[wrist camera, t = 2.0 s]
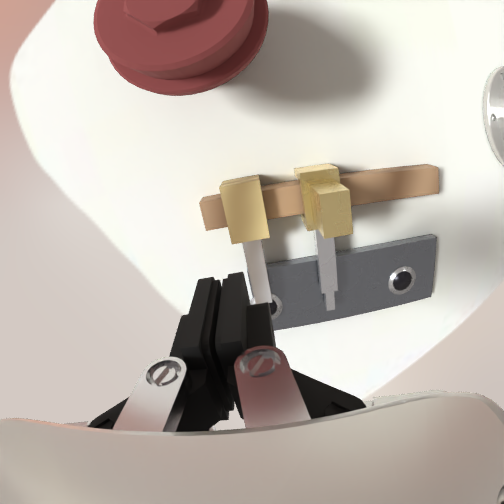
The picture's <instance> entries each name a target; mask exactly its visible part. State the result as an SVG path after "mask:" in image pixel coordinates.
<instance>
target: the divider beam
mask: <svg viewBox="0 0 504 504" xmlns="http://www.w3.org/2000/svg"><path fill="white" fill-rule="evenodd" d="M339 177H340V184H342V185H343V186H345V187H346V188H348V189H349V190H350V201H351V206H354V205H360V204H367V203H374V202H381V201H387V200H394V199H401V198H409V197H416V196H423V195H431V194H439V173H438V167H435V166H432V165H428V164H423V165H412V166H402V167H392V168H383V169H374V170H365V171H357V172H349V173H342V174H339ZM219 189H220V193H221V194H216V195H212V196H207V197H203V198H202V199H201V201H200V203H199V204H200V208H201V212H202V216H203V220H204V225H205V229H206V231H208V230H213V229H219V228H224V227H228V229H229V234H230V238H231V243H232V244H237V243H243V248H244V253H245V257H246V262H247V267H248V271H249V276H250V281H251V285H252V290H253V294H254V299H255V304H260V303H265V302H268V304H269V303H272V295H271V290H270V284H269V279H268V274H267V268H266V263H265V257H264V252H263V247H262V241H261V239H265V238H270V236H269V230H268V224H267V220H268V219H274V218H280V217H286V216H292V215H298V214H304V209H303V202H302V195H301V189H300V182H299V180H294V181H288V182H282V183H276V184H270V185H264V186H260V180H259V175H253V176H247V177H242V178H237V179H232V180H227V181H223V182H222V184H221V185H220V187H219ZM269 308H270V305H269ZM270 314H271V311H270ZM271 319H272V317H271Z"/></svg>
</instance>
